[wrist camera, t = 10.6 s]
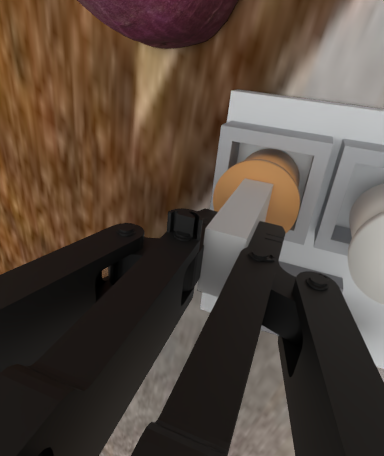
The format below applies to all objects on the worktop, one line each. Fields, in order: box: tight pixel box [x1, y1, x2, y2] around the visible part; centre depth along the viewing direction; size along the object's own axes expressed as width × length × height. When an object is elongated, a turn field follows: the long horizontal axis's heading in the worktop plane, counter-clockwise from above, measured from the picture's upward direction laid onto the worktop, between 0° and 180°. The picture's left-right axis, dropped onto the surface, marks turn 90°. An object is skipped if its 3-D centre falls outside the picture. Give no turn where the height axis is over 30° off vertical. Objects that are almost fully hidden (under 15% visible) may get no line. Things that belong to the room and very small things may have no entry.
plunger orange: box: [213, 149, 300, 234], centre depth 20 cm, size 5×5×5 cm
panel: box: [200, 89, 384, 369], centre depth 23 cm, size 15×18×4 cm
